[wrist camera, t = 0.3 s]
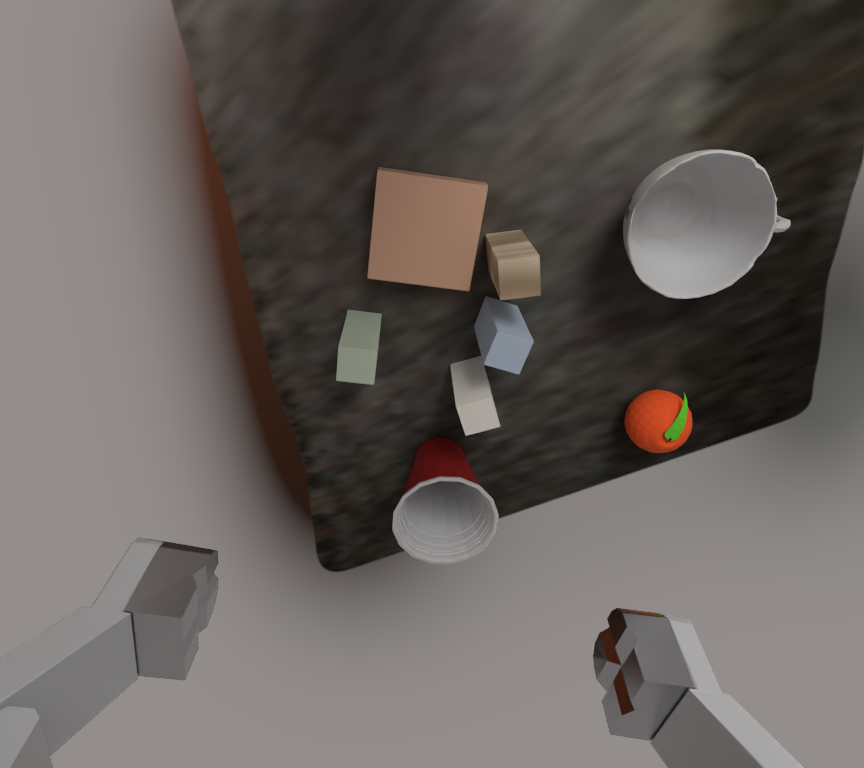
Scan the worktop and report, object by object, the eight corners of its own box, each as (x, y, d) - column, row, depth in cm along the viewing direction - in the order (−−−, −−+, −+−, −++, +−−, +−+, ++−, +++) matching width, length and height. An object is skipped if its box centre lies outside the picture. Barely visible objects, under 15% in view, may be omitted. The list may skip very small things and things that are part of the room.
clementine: (640, 362, 63) (665, 394, 57) (693, 381, 64) (724, 414, 58) (605, 421, 67) (625, 457, 60) (656, 437, 68) (681, 474, 62)
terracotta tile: (378, 166, 52) (377, 170, 51) (485, 182, 53) (488, 186, 52) (368, 272, 57) (367, 278, 55) (467, 284, 58) (469, 291, 56)
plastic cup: (497, 428, 67) (514, 495, 56) (469, 498, 71) (480, 572, 61) (407, 407, 65) (407, 472, 54) (384, 481, 70) (380, 554, 59)
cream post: (450, 364, 62) (456, 406, 54) (481, 355, 62) (491, 396, 54) (458, 391, 64) (465, 435, 56) (488, 382, 64) (500, 426, 56)
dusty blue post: (485, 296, 59) (497, 330, 51) (517, 305, 59) (533, 341, 51) (473, 326, 60) (483, 364, 52) (504, 335, 61) (518, 374, 53)
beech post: (485, 234, 56) (497, 260, 48) (520, 229, 56) (539, 255, 48) (487, 269, 57) (500, 300, 50) (522, 264, 57) (540, 295, 49)
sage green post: (347, 309, 59) (338, 346, 51) (381, 313, 59) (377, 350, 51) (345, 340, 61) (336, 380, 53) (378, 344, 61) (374, 384, 53)
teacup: (591, 272, 58) (616, 299, 51) (613, 138, 52) (645, 148, 45) (736, 274, 59) (781, 301, 52) (774, 142, 53) (831, 153, 46)
